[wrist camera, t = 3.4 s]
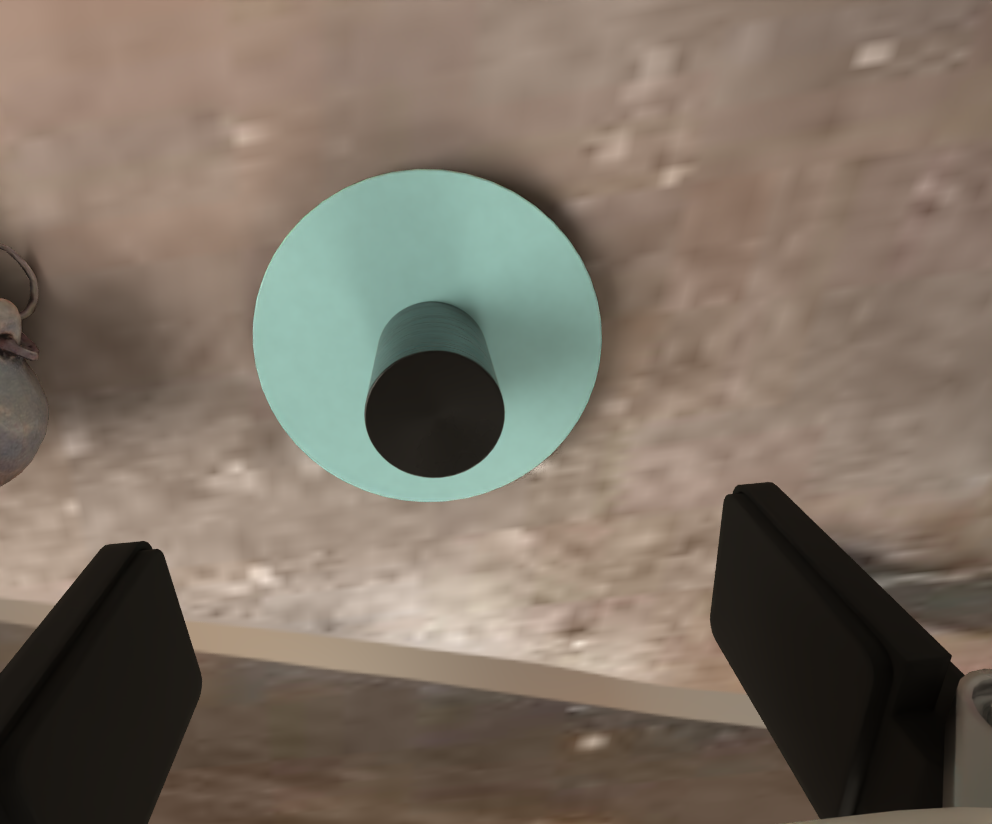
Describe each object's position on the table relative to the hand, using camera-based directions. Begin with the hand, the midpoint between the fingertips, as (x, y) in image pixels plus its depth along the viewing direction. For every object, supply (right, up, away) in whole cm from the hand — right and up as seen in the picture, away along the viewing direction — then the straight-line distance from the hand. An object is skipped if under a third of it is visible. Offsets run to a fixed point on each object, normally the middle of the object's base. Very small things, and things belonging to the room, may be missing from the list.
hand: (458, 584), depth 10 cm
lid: (-2, +5, +10) cm, 12 cm away
